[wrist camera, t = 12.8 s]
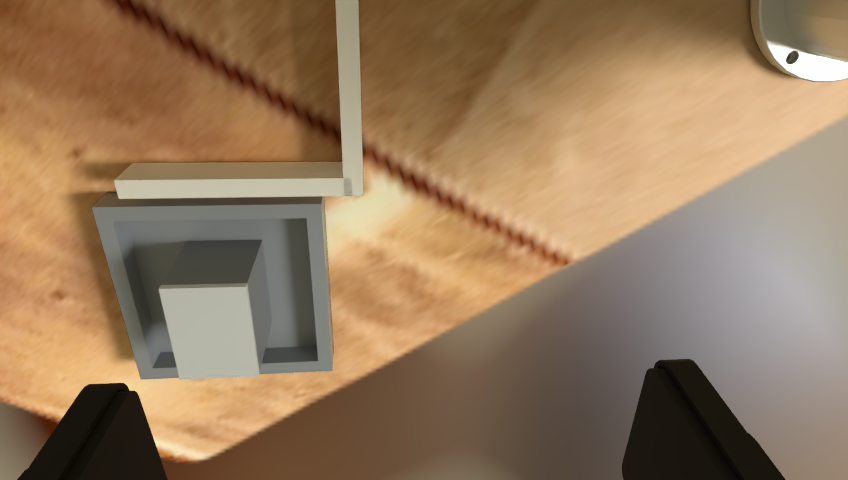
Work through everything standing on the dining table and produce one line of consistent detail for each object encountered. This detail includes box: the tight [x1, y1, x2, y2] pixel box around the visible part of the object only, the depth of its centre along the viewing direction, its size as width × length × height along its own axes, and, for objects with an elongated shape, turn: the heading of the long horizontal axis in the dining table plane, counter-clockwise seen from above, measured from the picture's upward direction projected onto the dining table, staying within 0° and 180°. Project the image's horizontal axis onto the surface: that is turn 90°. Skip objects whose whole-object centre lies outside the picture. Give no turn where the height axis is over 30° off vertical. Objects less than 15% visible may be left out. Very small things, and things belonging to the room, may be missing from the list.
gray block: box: [159, 240, 272, 379], centre depth 36 cm, size 5×7×6 cm
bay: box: [114, 0, 363, 199], centre depth 31 cm, size 15×14×3 cm
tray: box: [92, 192, 334, 379], centre depth 38 cm, size 14×14×2 cm
